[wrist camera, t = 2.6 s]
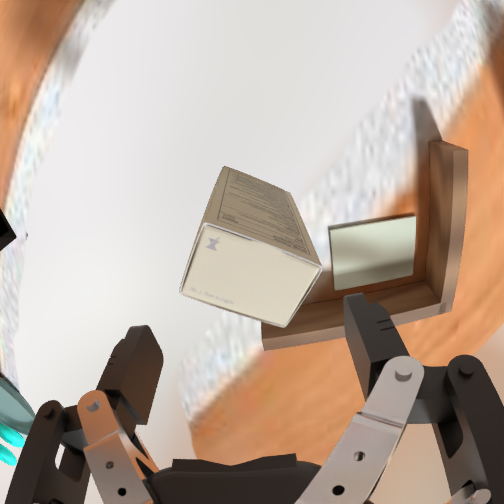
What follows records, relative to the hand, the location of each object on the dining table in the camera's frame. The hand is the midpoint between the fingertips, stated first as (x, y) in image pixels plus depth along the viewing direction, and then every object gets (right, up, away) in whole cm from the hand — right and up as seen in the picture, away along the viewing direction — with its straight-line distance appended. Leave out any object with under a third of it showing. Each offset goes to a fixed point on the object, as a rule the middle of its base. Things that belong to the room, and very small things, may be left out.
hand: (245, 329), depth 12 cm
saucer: (-54, -27, +33) cm, 69 cm away
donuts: (-66, -46, +43) cm, 91 cm away
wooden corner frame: (+9, +4, +15) cm, 18 cm away
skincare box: (0, +7, +14) cm, 16 cm away
